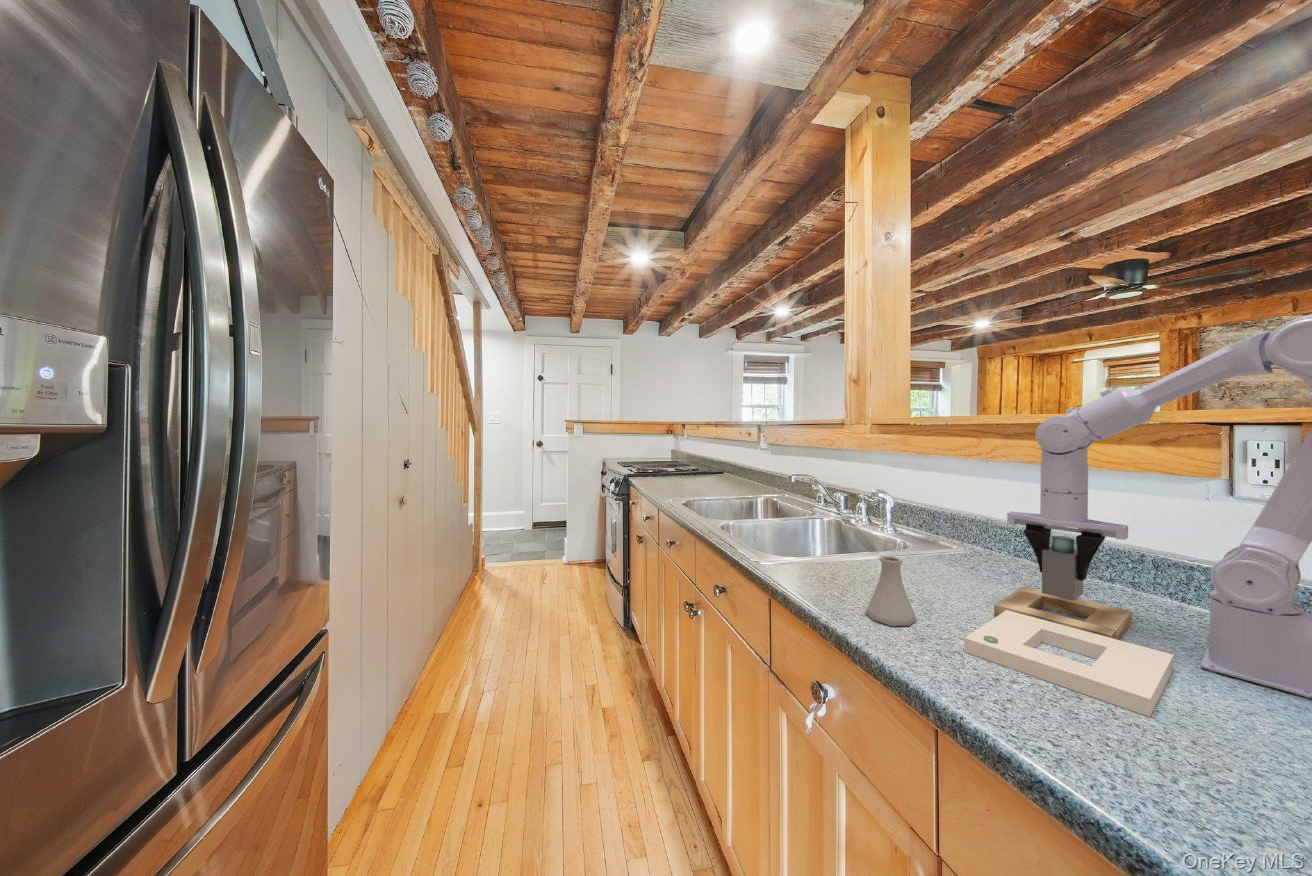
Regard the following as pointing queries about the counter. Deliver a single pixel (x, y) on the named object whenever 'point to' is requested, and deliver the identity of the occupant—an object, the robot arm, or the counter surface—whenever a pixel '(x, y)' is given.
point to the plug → (1061, 569)
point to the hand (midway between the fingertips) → (1062, 575)
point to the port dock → (1113, 678)
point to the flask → (891, 596)
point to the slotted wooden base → (1098, 615)
